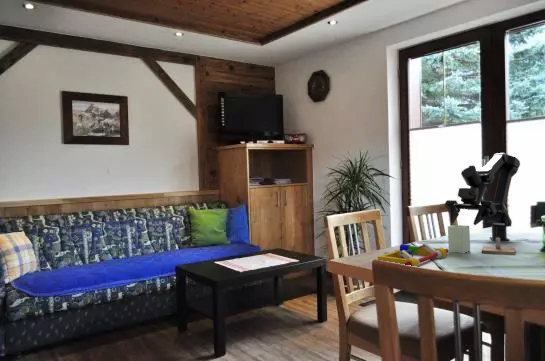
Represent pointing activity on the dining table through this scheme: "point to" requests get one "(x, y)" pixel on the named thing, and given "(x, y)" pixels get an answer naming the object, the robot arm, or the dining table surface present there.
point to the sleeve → (459, 238)
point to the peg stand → (498, 249)
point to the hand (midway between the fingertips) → (462, 223)
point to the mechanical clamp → (407, 254)
